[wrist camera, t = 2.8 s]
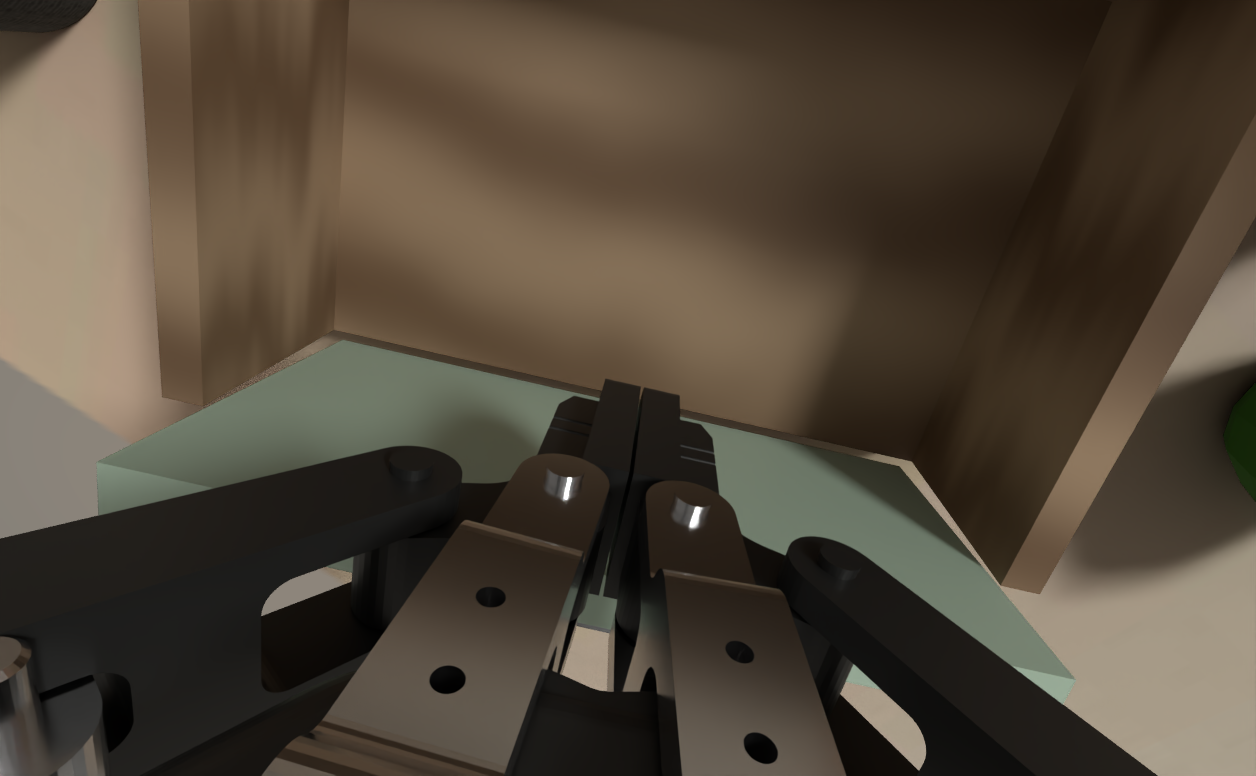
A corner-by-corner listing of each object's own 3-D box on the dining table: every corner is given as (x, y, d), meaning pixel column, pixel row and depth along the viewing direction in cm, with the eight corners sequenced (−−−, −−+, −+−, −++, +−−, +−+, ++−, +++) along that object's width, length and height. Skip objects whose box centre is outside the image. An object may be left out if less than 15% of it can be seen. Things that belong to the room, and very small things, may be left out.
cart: (309, -216, 18) (6, -505, 10) (1165, -9, 19) (1556, -119, 10) (297, 294, 24) (96, 382, 16) (955, 445, 24) (1101, 608, 16)
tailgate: (343, 339, 22) (95, 461, 12) (899, 466, 22) (1076, 680, 13) (338, 394, 23) (100, 550, 13) (879, 516, 23) (1034, 757, 13)
